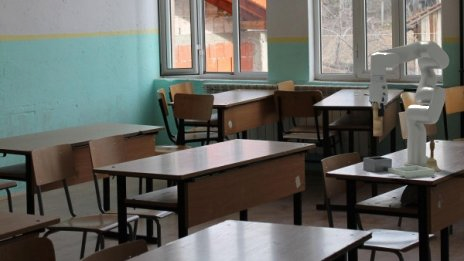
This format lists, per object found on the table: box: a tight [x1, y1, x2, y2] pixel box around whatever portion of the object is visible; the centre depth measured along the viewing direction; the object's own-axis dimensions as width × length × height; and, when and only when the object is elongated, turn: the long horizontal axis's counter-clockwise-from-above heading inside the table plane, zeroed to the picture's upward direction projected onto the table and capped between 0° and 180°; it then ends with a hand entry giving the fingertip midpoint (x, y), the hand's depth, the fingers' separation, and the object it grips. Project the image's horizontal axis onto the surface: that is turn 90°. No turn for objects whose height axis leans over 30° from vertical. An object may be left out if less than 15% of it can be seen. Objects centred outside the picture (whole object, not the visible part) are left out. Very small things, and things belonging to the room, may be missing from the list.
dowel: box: [372, 103, 383, 137], centre depth 428 cm, size 4×4×16 cm
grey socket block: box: [362, 156, 393, 173], centre depth 431 cm, size 10×10×7 cm
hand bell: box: [425, 138, 441, 173], centre depth 434 cm, size 8×8×16 cm
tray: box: [387, 165, 436, 179], centre depth 423 cm, size 17×14×3 cm
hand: (377, 115), depth 428 cm, fingers closed on dowel, 4 cm apart
